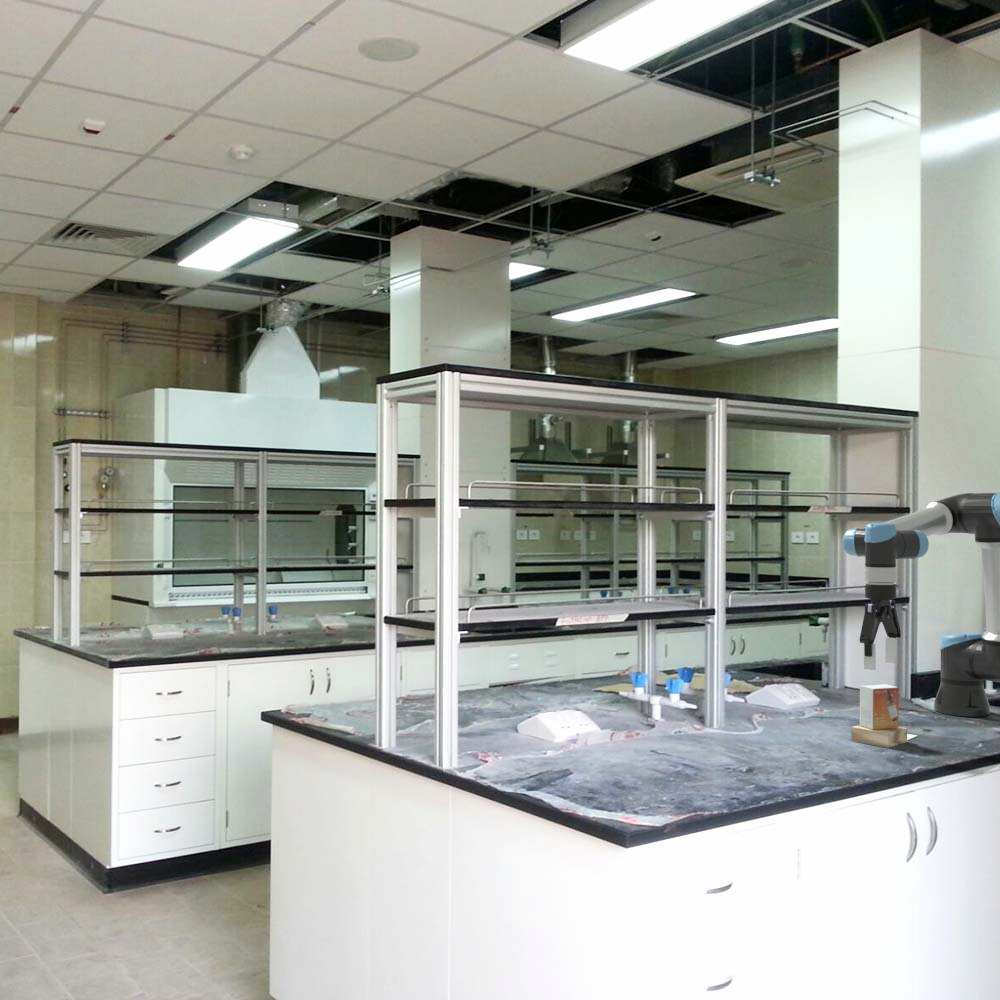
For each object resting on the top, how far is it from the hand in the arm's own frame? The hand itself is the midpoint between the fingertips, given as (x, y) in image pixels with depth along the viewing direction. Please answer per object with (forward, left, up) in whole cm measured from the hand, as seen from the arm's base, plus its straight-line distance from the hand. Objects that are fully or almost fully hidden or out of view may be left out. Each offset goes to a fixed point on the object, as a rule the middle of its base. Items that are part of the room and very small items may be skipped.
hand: (880, 665), depth 269 cm
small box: (0, 0, -16) cm, 16 cm away
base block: (+1, 0, -20) cm, 20 cm away
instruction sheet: (-9, 0, -19) cm, 21 cm away
